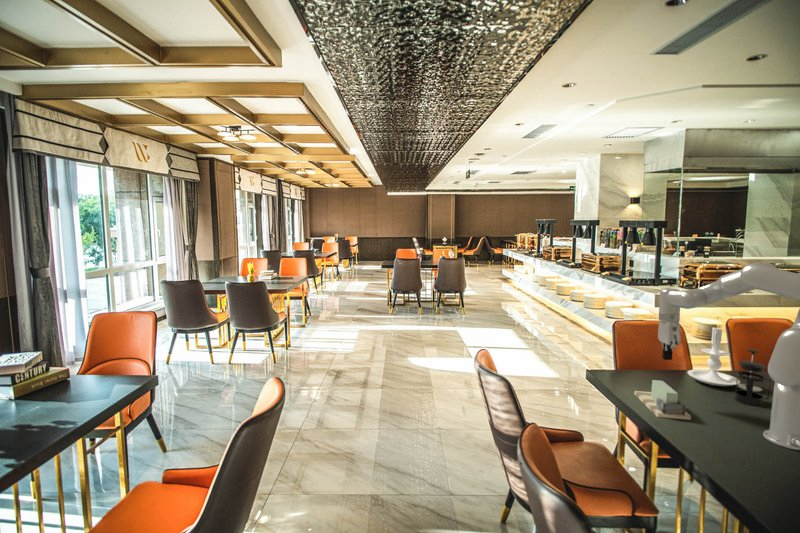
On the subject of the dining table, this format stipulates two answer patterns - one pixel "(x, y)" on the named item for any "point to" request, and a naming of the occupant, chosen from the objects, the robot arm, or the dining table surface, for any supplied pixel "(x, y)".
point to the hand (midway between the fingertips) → (667, 359)
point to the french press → (751, 383)
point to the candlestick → (714, 364)
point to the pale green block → (663, 392)
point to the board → (663, 406)
